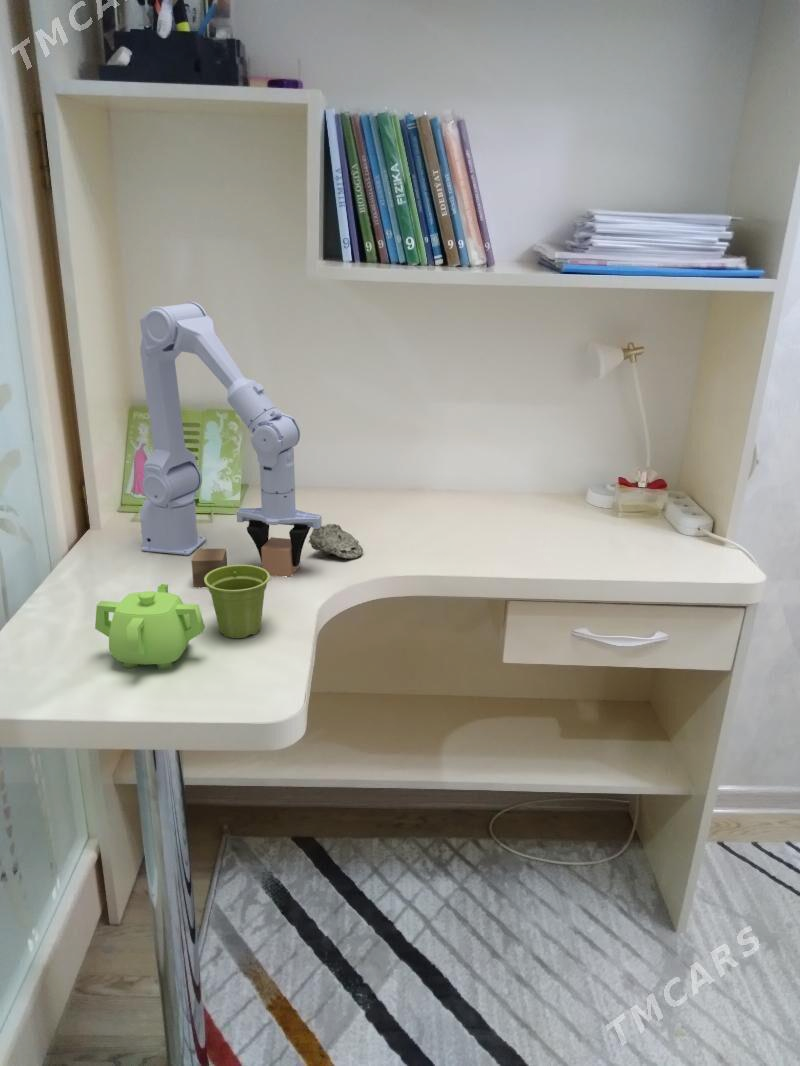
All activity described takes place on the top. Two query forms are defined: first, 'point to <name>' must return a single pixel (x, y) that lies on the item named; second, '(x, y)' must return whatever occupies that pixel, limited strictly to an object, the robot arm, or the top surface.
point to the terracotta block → (278, 557)
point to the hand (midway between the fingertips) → (280, 562)
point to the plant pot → (238, 598)
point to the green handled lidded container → (149, 627)
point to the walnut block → (206, 564)
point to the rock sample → (335, 542)
